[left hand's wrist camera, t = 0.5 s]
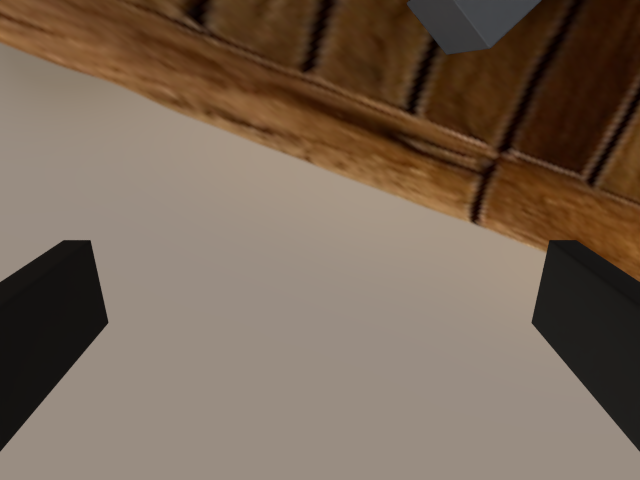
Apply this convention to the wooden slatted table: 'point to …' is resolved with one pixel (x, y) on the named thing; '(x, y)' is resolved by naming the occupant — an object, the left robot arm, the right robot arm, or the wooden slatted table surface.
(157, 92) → the wooden slatted table surface
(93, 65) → the wooden slatted table surface
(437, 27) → the bar
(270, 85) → the wooden slatted table surface
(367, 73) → the wooden slatted table surface
